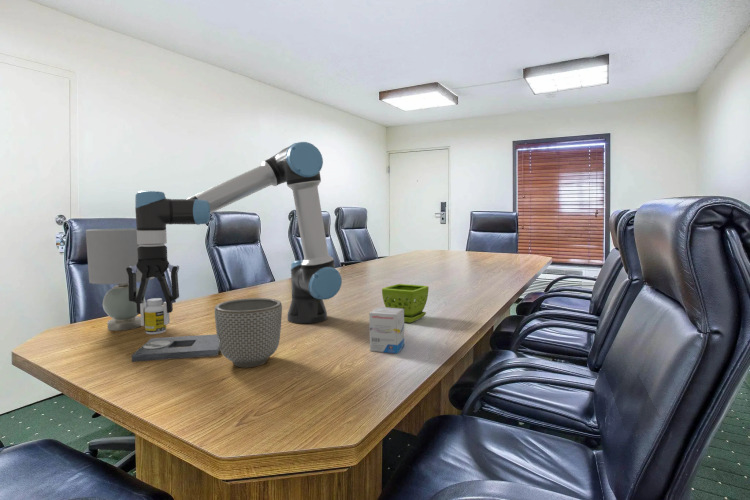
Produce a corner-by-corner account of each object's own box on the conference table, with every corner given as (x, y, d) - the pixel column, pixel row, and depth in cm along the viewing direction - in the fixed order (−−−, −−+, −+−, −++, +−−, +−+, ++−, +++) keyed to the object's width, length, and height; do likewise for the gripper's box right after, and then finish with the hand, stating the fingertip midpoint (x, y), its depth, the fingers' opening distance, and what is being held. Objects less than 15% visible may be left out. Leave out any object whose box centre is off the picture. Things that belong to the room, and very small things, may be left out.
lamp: (78, 331, 140) (71, 229, 137) (132, 317, 158) (127, 228, 156) (117, 337, 132) (111, 230, 130) (169, 322, 151) (165, 228, 148)
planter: (246, 379, 97) (244, 314, 96) (202, 365, 106) (200, 306, 105) (296, 358, 112) (295, 301, 111) (253, 348, 121) (252, 295, 120)
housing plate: (225, 339, 130) (225, 332, 130) (217, 355, 114) (216, 348, 114) (151, 343, 125) (151, 337, 125) (131, 361, 110) (131, 354, 110)
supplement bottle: (157, 335, 115) (155, 301, 114) (141, 334, 116) (139, 300, 115) (170, 330, 120) (169, 297, 119) (154, 329, 121) (153, 297, 120)
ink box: (405, 345, 123) (405, 307, 122) (397, 354, 115) (397, 314, 114) (378, 342, 126) (378, 305, 125) (369, 351, 118) (369, 311, 117)
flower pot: (429, 317, 157) (429, 285, 156) (413, 326, 145) (413, 291, 144) (398, 313, 164) (398, 282, 163) (380, 320, 153) (380, 287, 152)
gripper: (189, 244, 121) (192, 319, 123) (122, 244, 118) (126, 322, 119) (183, 245, 114) (186, 325, 116) (111, 246, 110) (115, 329, 112)
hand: (155, 324), depth 118 cm, fingers closed on supplement bottle, 5 cm apart
